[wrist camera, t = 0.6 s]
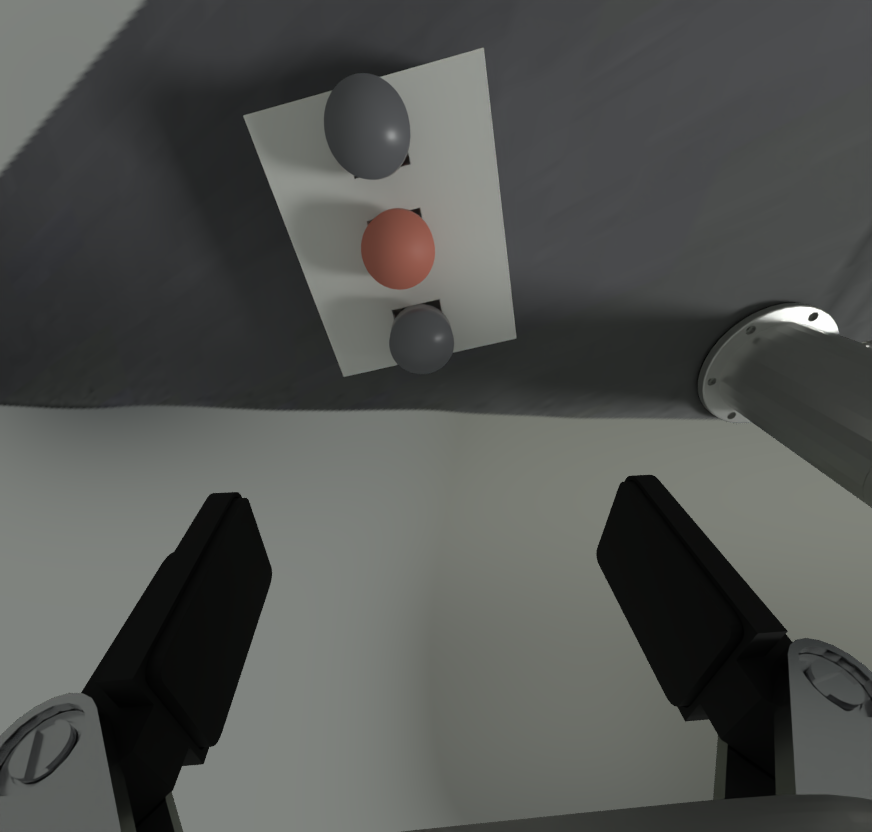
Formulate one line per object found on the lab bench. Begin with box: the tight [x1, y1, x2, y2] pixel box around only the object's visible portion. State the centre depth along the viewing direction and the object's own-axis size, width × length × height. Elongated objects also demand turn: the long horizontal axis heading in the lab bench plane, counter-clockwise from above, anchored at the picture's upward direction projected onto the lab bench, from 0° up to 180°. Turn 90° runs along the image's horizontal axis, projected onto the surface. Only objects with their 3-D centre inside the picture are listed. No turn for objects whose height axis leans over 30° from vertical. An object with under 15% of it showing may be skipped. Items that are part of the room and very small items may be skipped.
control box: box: [243, 48, 517, 377], centre depth 28 cm, size 14×17×6 cm
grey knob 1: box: [324, 73, 411, 180], centre depth 22 cm, size 4×4×6 cm
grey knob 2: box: [389, 304, 454, 374], centre depth 28 cm, size 4×4×6 cm
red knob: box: [361, 208, 435, 290], centre depth 25 cm, size 4×4×6 cm
